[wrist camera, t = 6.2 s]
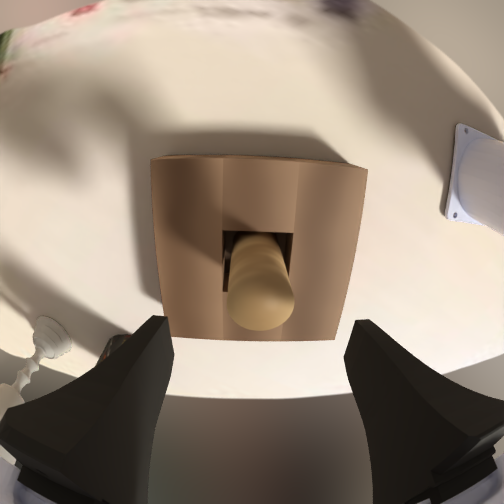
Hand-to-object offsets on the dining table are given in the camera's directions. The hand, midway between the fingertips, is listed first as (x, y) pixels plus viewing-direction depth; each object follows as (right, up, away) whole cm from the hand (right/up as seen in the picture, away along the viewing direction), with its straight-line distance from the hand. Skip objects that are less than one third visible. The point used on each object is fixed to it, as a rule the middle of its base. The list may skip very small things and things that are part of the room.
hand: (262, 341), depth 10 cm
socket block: (0, +4, +9) cm, 10 cm away
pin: (0, +4, +8) cm, 9 cm away
